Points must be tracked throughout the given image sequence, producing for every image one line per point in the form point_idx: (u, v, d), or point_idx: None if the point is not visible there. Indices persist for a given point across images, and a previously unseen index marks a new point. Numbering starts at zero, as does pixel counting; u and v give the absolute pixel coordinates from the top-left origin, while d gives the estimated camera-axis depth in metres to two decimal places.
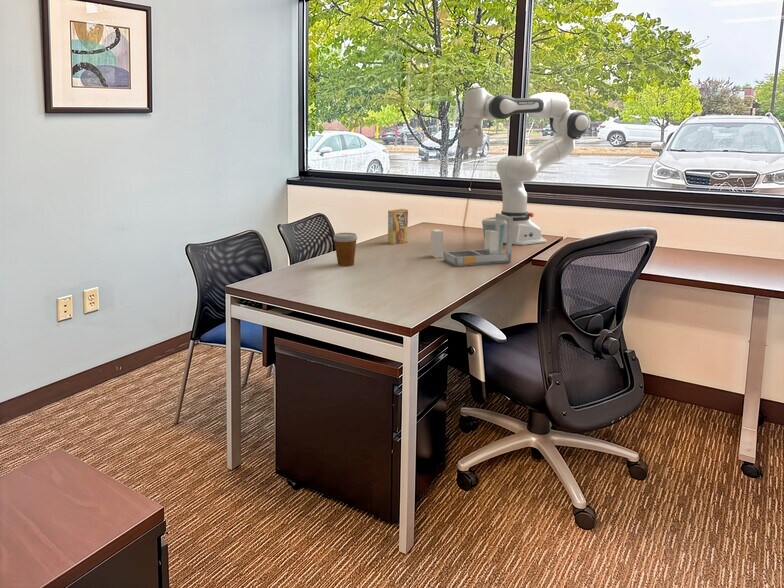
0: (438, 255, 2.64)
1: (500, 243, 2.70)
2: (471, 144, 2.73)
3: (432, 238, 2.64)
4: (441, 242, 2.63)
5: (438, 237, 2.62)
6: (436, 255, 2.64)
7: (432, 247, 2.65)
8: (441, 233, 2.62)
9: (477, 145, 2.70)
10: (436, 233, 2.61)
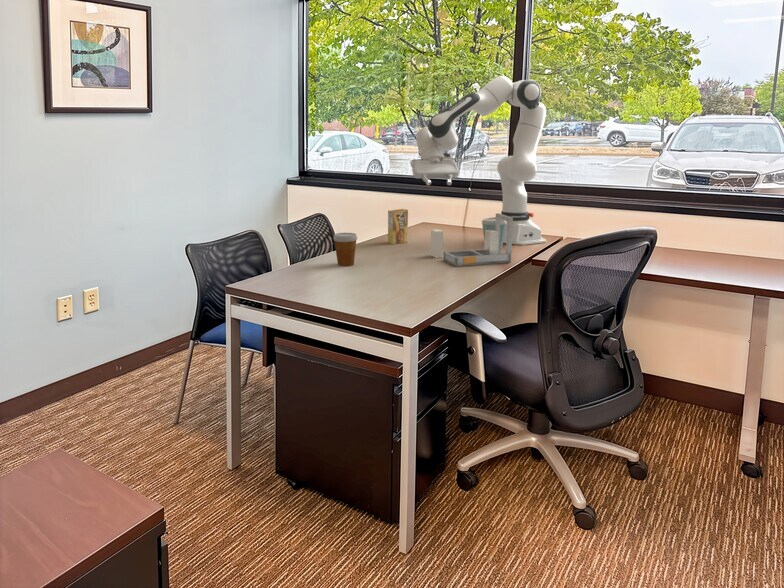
0: (438, 255, 2.64)
1: (500, 243, 2.70)
2: None
3: (432, 238, 2.64)
4: (441, 242, 2.63)
5: (439, 237, 2.62)
6: (436, 255, 2.64)
7: (432, 247, 2.65)
8: (441, 233, 2.62)
9: (414, 175, 2.71)
10: (436, 233, 2.61)
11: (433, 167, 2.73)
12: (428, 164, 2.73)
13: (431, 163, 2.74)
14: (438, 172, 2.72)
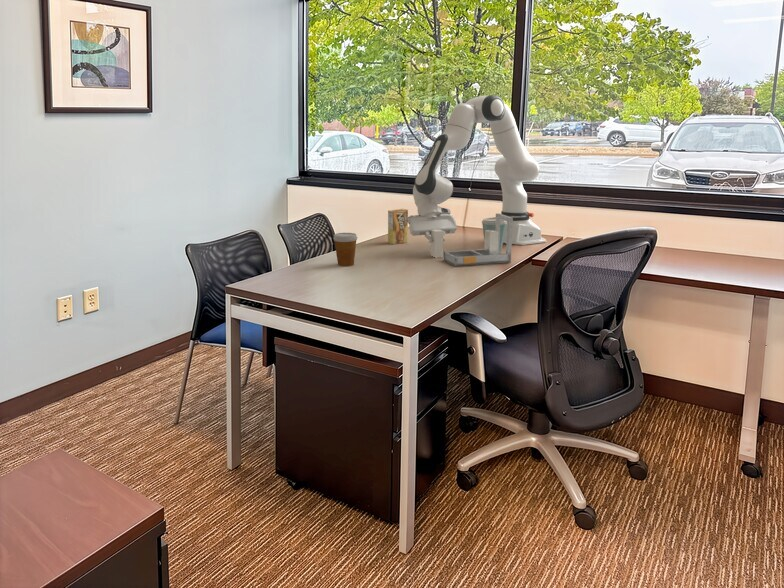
0: (438, 255, 2.64)
1: (500, 243, 2.70)
2: None
3: None
4: (441, 242, 2.63)
5: (438, 237, 2.62)
6: (436, 255, 2.64)
7: (432, 247, 2.65)
8: (441, 233, 2.62)
9: (411, 233, 2.64)
10: (436, 233, 2.61)
11: (431, 224, 2.66)
12: (426, 220, 2.67)
13: (429, 219, 2.67)
14: (436, 229, 2.65)
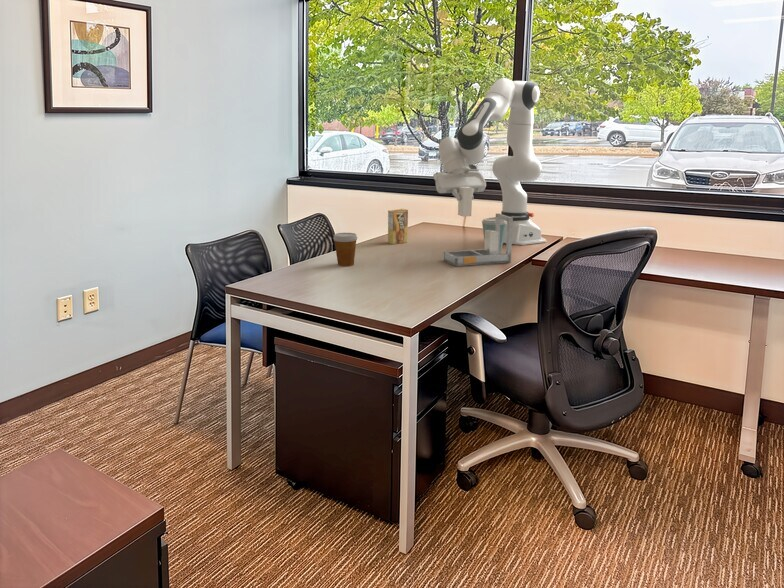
0: (466, 214, 2.48)
1: (500, 243, 2.70)
2: None
3: None
4: (470, 200, 2.47)
5: (467, 195, 2.46)
6: (464, 214, 2.48)
7: (460, 205, 2.49)
8: (470, 190, 2.46)
9: (438, 190, 2.48)
10: (465, 190, 2.45)
11: (458, 181, 2.50)
12: (453, 177, 2.51)
13: (456, 176, 2.51)
14: (464, 186, 2.49)
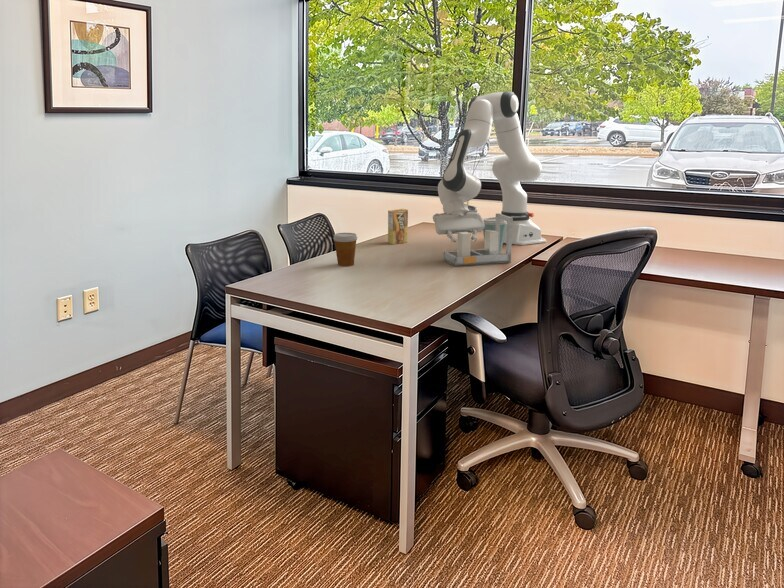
0: None
1: (500, 243, 2.70)
2: None
3: (459, 241, 2.53)
4: (469, 245, 2.51)
5: (466, 240, 2.51)
6: None
7: (459, 250, 2.54)
8: (469, 235, 2.50)
9: (437, 232, 2.52)
10: (463, 235, 2.50)
11: (457, 222, 2.54)
12: (452, 219, 2.55)
13: (455, 217, 2.55)
14: (463, 227, 2.53)
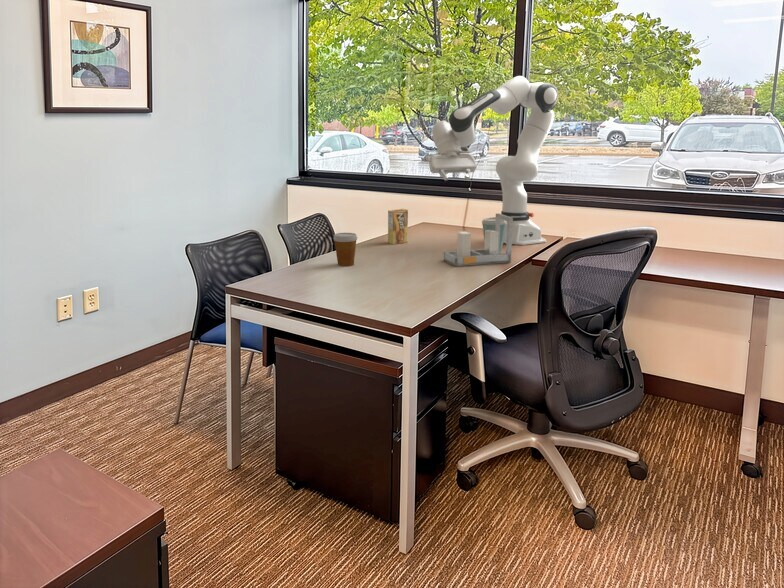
0: None
1: (500, 243, 2.70)
2: None
3: (459, 241, 2.53)
4: (469, 245, 2.51)
5: (466, 240, 2.51)
6: None
7: (459, 250, 2.54)
8: (469, 235, 2.50)
9: (431, 170, 2.64)
10: (463, 235, 2.50)
11: (450, 161, 2.66)
12: (445, 158, 2.67)
13: (448, 157, 2.67)
14: (456, 167, 2.65)
